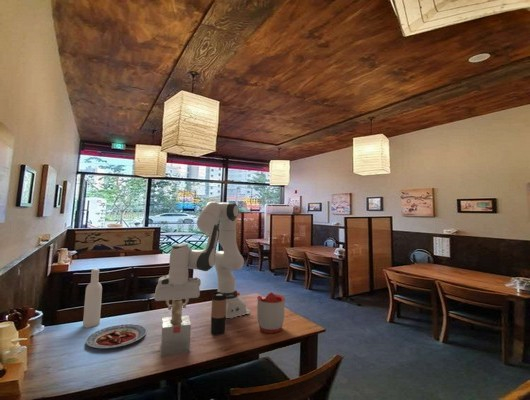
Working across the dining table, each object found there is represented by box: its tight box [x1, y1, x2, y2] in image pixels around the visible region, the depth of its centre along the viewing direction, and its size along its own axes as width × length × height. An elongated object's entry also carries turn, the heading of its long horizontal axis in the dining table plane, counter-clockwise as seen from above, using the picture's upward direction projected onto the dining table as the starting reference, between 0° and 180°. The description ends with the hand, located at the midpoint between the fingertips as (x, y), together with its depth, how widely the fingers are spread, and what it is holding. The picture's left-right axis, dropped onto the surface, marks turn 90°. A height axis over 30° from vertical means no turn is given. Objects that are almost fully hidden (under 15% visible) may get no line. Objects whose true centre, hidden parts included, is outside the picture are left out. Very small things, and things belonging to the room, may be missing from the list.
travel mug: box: [210, 291, 227, 336], centre depth 138 cm, size 8×8×20 cm
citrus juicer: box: [256, 291, 286, 334], centre depth 145 cm, size 16×17×20 cm
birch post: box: [171, 299, 183, 324], centre depth 121 cm, size 4×4×20 cm
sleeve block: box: [160, 314, 192, 357], centre depth 121 cm, size 12×13×12 cm
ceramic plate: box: [85, 323, 147, 349], centre depth 128 cm, size 26×26×3 cm
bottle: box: [82, 268, 103, 329], centre depth 144 cm, size 8×8×30 cm
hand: (176, 308), depth 122 cm, fingers open, 5 cm apart
